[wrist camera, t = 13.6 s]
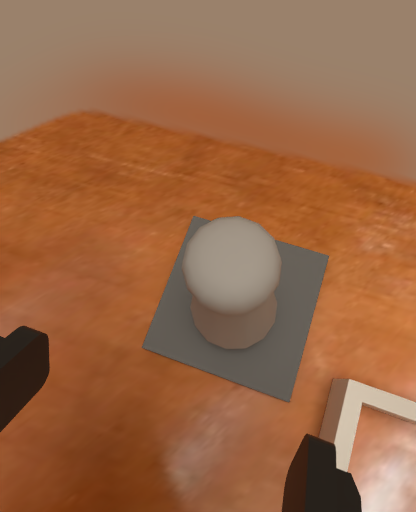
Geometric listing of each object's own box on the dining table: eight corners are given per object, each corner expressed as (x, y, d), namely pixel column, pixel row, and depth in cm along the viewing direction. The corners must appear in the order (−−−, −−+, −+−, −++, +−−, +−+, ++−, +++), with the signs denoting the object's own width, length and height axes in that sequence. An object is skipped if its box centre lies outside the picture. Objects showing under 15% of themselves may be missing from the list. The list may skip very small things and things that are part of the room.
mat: (143, 348, 28) (141, 347, 27) (194, 218, 31) (193, 215, 30) (288, 401, 26) (289, 402, 25) (327, 258, 29) (329, 255, 28)
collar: (294, 537, 23) (305, 568, 19) (332, 378, 26) (349, 379, 22) (464, 611, 21) (512, 661, 18) (486, 432, 24) (532, 443, 20)
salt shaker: (182, 331, 27) (134, 293, 15) (213, 262, 29) (193, 175, 16) (257, 365, 26) (273, 353, 14) (285, 291, 27) (323, 220, 15)
